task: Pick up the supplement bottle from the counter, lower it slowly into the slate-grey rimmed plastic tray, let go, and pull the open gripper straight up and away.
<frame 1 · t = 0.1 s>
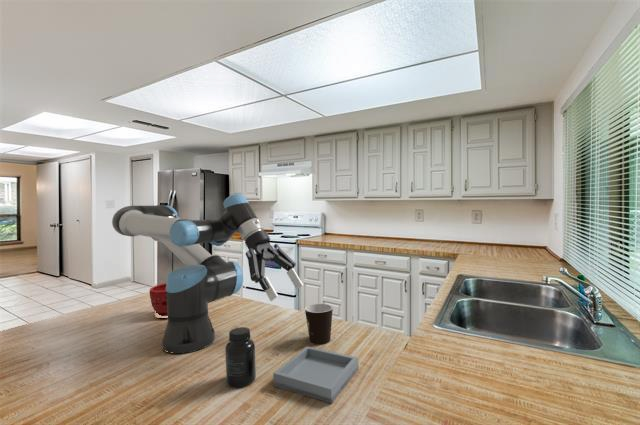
hand: (288, 292, 93), 15 cm above the worktop, tool tilted 35°, fingers open, 13 cm apart
coffee mug: (320, 338, 96), on the worktop
slate tray: (317, 377, 74), on the worktop
supplement bottle: (241, 381, 74), on the worktop
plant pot: (169, 316, 122), on the worktop
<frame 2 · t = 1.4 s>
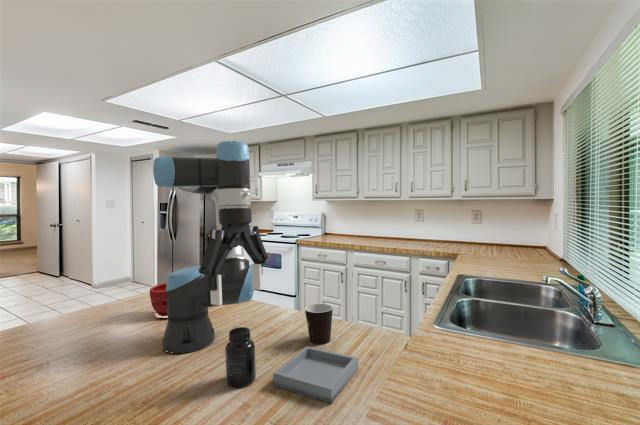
hand: (238, 296, 73), 20 cm above the worktop, tool pointing down, fingers open, 13 cm apart
nothing on the worktop moved.
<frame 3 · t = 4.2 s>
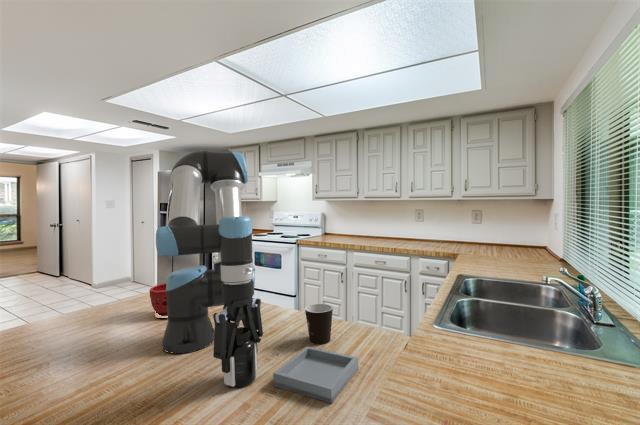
hand: (241, 376, 73), 1 cm above the worktop, tool pointing down, fingers closed on supplement bottle, 7 cm apart
supplement bottle: (241, 381, 74), on the worktop, touching gripper
everything else where it was.
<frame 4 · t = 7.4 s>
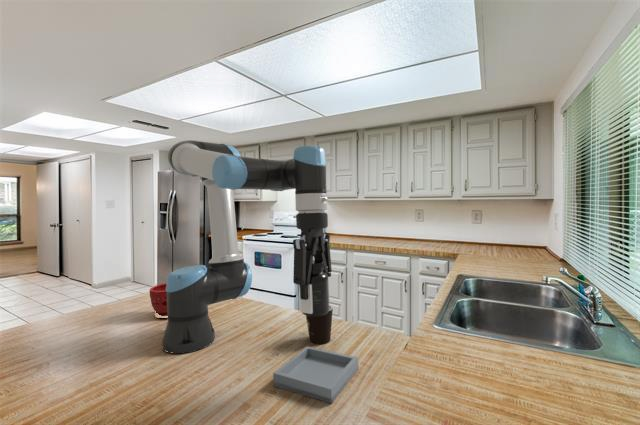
hand: (315, 307, 73), 17 cm above the worktop, tool pointing down, fingers closed on supplement bottle, 7 cm apart
supplement bottle: (315, 312, 73), point 16 cm above the worktop, touching gripper
everything else where it was.
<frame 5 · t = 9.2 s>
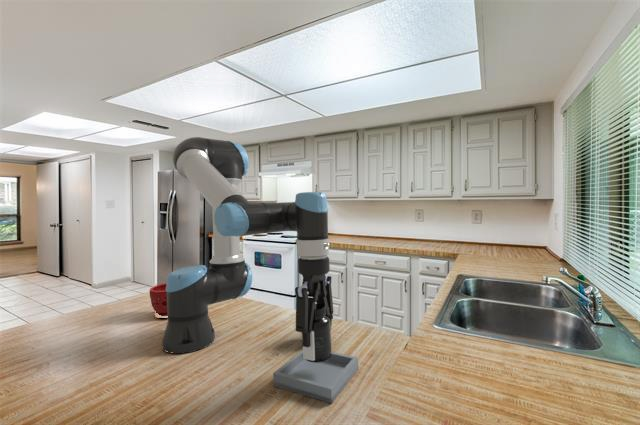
hand: (317, 351, 74), 6 cm above the worktop, tool pointing down, fingers closed on supplement bottle, 7 cm apart
supplement bottle: (317, 357, 74), point 5 cm above the worktop, touching gripper
everything else where it was.
when the fingers open (3 cm above the worktop, at t = 10.6 s): supplement bottle drops 1 cm, resting on slate tray.
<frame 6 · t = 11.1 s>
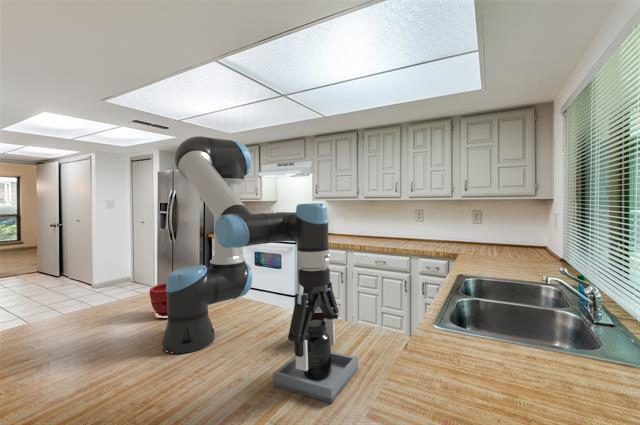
hand: (317, 355, 74), 5 cm above the worktop, tool pointing down, fingers open, 13 cm apart
supplement bottle: (317, 373, 74), point 1 cm above the worktop, touching slate tray
everything else where it was.
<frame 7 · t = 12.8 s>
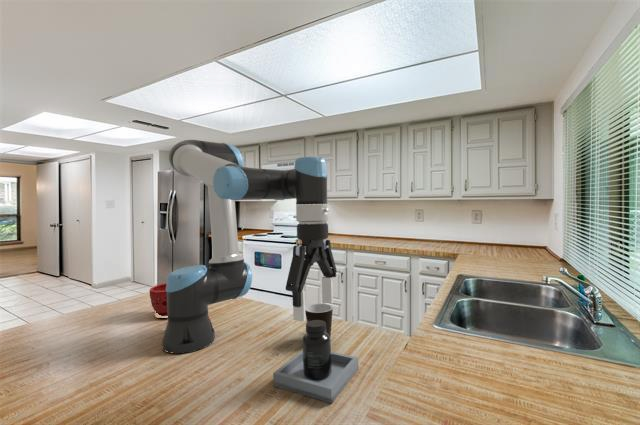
hand: (314, 310, 74), 16 cm above the worktop, tool pointing down, fingers open, 13 cm apart
nothing on the worktop moved.
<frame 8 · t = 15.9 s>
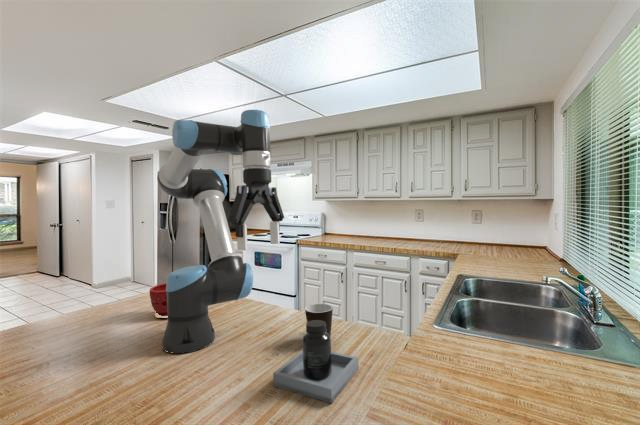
hand: (259, 246, 84), 31 cm above the worktop, tool pointing down, fingers open, 13 cm apart
nothing on the worktop moved.
at the end: supplement bottle inside the target area on the slate tray (0.1 cm from its centre), point 0.8 cm above the slate tray's base; supplement bottle tilted 0°; the gripper is holding nothing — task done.
